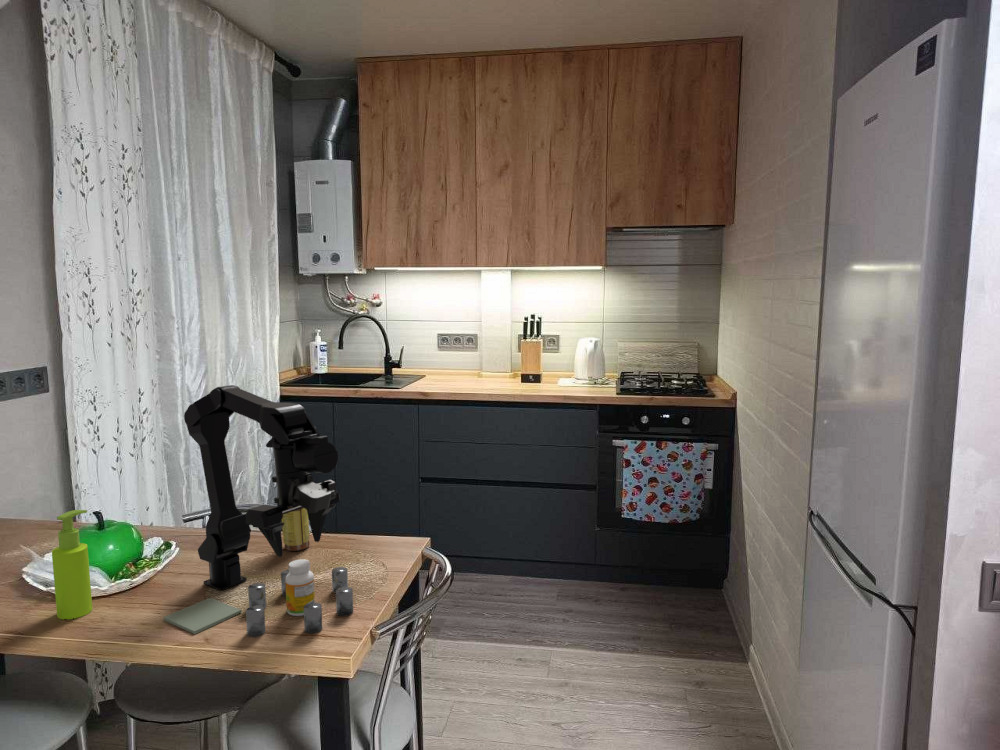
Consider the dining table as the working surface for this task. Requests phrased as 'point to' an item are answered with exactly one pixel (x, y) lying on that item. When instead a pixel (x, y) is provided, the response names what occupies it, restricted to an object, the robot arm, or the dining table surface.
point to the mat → (202, 615)
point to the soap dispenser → (71, 571)
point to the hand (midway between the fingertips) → (299, 548)
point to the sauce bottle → (296, 530)
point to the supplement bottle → (299, 587)
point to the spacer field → (311, 610)
